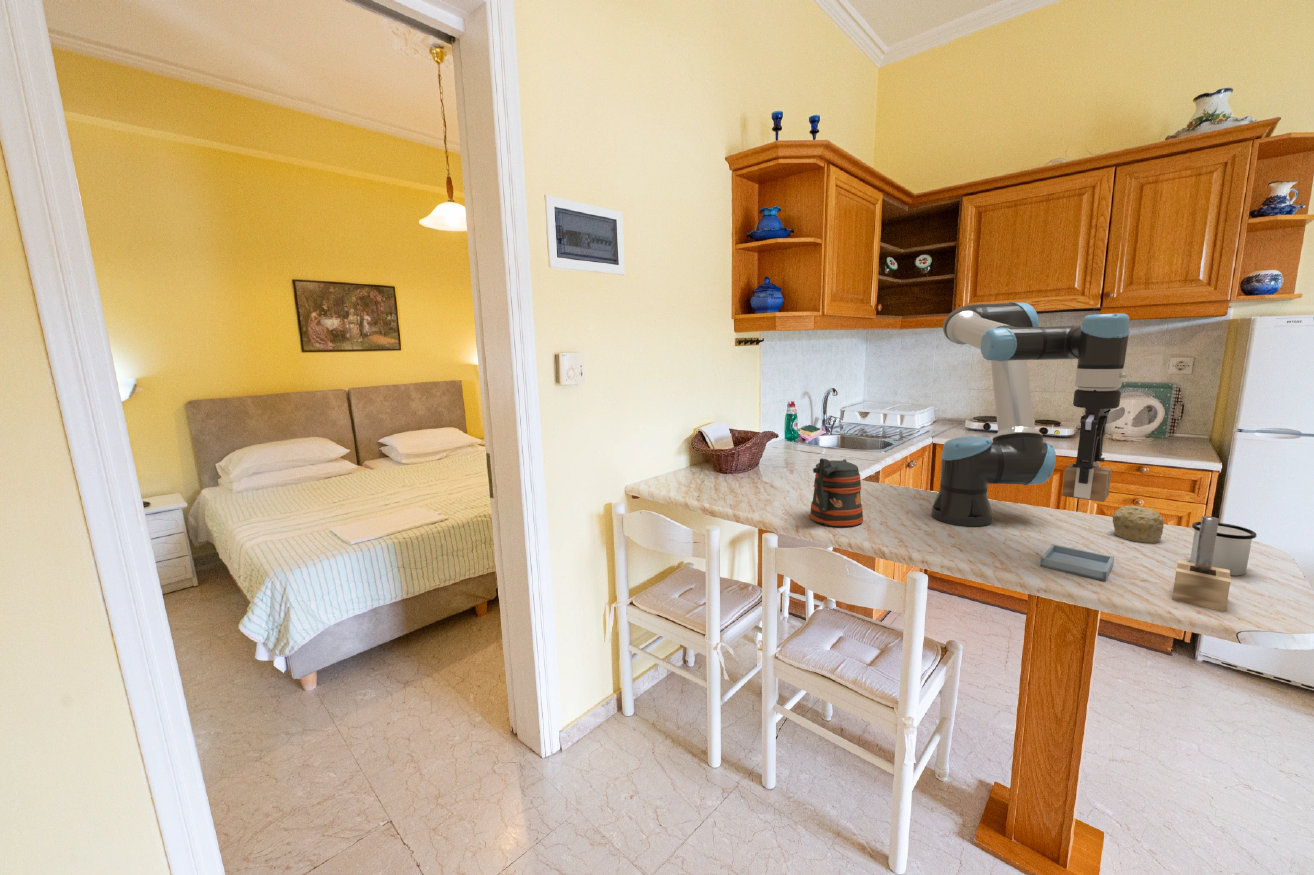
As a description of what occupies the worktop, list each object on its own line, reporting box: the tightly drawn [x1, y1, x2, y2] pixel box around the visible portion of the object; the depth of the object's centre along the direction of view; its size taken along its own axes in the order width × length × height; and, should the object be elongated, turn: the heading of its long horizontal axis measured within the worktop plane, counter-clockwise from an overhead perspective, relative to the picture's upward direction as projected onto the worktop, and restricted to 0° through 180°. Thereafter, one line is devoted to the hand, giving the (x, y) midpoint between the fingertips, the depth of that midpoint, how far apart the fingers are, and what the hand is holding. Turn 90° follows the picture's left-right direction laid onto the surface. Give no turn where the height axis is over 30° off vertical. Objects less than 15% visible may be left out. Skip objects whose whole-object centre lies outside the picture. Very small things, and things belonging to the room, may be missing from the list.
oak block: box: [1171, 559, 1231, 613], centre depth 99 cm, size 7×7×6 cm
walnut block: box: [1061, 463, 1113, 503], centre depth 112 cm, size 7×7×6 cm
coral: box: [1112, 505, 1165, 544], centre depth 130 cm, size 9×9×8 cm
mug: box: [1189, 521, 1258, 577], centre depth 112 cm, size 12×10×9 cm
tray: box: [1039, 543, 1115, 582], centre depth 115 cm, size 11×11×2 cm
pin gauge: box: [1194, 515, 1220, 575], centre depth 98 cm, size 2×2×15 cm
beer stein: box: [809, 458, 864, 528], centre depth 147 cm, size 19×15×20 cm
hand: (1085, 493), depth 112 cm, fingers closed on walnut block, 7 cm apart
